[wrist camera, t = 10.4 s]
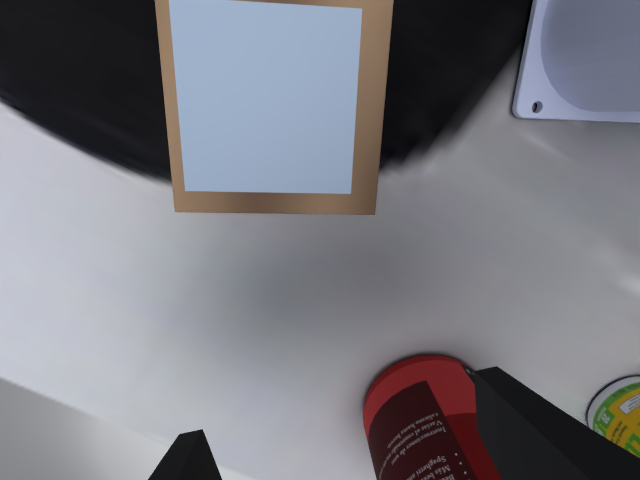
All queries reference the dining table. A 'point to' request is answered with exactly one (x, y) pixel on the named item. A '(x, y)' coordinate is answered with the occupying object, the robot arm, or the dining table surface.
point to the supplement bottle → (618, 414)
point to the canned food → (426, 422)
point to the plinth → (366, 139)
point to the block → (266, 95)
